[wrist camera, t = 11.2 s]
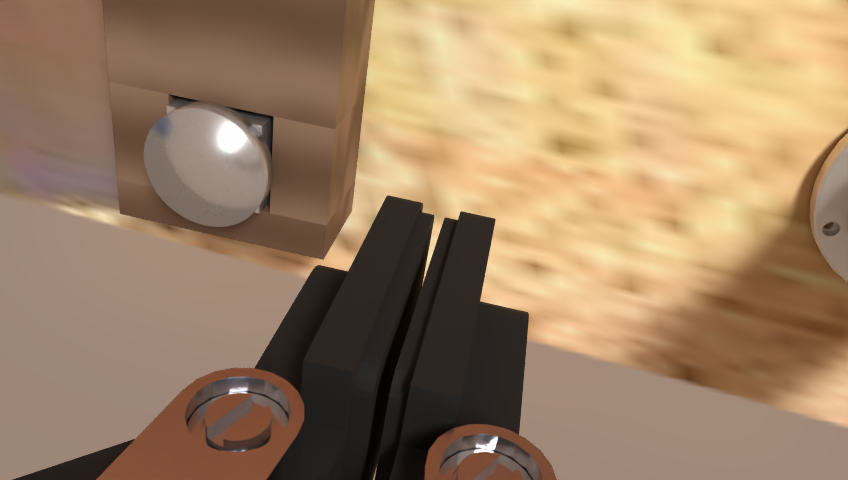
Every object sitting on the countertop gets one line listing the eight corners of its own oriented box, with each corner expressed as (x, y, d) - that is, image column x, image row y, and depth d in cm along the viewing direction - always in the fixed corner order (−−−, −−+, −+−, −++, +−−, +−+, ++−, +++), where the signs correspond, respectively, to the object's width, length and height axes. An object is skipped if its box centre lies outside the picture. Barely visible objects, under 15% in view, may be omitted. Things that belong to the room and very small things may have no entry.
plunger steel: (205, 57, 40) (140, 97, 34) (313, 80, 40) (267, 124, 34) (206, 159, 44) (147, 212, 37) (306, 181, 43) (262, 238, 37)
